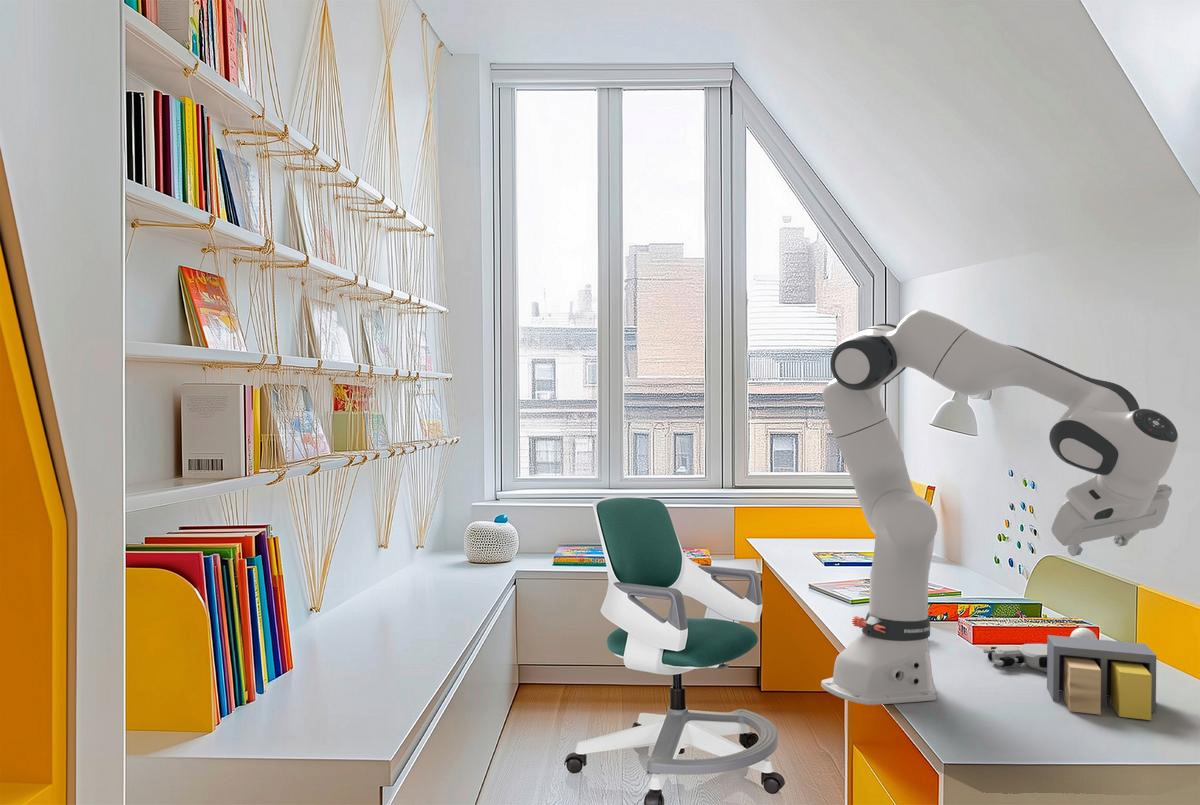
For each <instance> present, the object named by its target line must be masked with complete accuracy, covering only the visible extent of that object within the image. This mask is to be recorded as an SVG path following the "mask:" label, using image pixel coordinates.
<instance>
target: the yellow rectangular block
mask: <svg viewBox="0 0 1200 805" xmlns="http://www.w3.org/2000/svg"><path fill="white" fill-rule="evenodd" d="M1151 688H1152V675H1151V674H1150V673H1149V672H1148V670H1147V669H1146V668H1145V667H1144V666H1143V665H1142V664H1141V663H1131V662H1121V661H1111V696H1110V704H1111V706H1112V708H1113V709H1114V711H1115V712H1116V714H1117V716H1118V717H1121V718H1128V719H1129V718H1130V719H1138V720H1147V721H1152V712H1151Z"/></svg>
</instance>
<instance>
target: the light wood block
mask: <svg viewBox="0 0 1200 805" xmlns="http://www.w3.org/2000/svg"><path fill="white" fill-rule="evenodd" d="M1062 692H1063V693H1062V694H1063V695H1062V696H1063V697H1062V698H1063V700H1064V703H1065V705H1066V706H1067V708H1068V709H1067V710H1068V711H1069V712H1076V713H1084V714H1092V715H1093V714H1094V715H1101V711H1102V710H1101V708H1102V707H1101V669H1100V668H1099V667H1098V665H1097V664H1096V662H1095V661H1094V659H1089V658H1079V657H1068V656H1064V677H1063V691H1062Z"/></svg>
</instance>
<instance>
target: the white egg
mask: <svg viewBox="0 0 1200 805" xmlns="http://www.w3.org/2000/svg"><path fill="white" fill-rule="evenodd" d="M1069 637H1075V638H1087V639H1098V637H1097V635H1096V633H1095V632H1093V630H1091V629H1089V628H1086V627H1078V628H1075V629H1074V630H1073V631H1072V632H1071V634H1070V636H1069Z"/></svg>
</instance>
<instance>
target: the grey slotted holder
mask: <svg viewBox="0 0 1200 805" xmlns="http://www.w3.org/2000/svg"><path fill="white" fill-rule="evenodd" d="M1046 644H1047V672H1046V689H1047V691H1048V693H1050V694H1049V696H1050V698H1051V700H1052V702H1054V701H1055V702H1056V703H1059V702H1060V691H1059V690H1062V691H1061V692H1063V677H1064V656H1068V657H1079V658H1089V659H1094V661H1095V662H1096V664H1097V665H1098V667H1099V668H1100V669H1101V708H1107V700H1108V699H1107V697H1108V696H1109V697H1111V661H1121V662H1131V663H1141V664H1142V665H1143V666H1144V667H1145V668H1146V669H1147V670H1148V672H1149V673H1150V674H1151V675H1152V688H1151V713H1154V714H1155V713H1156V712H1157V711H1156V710H1157V654H1155V652H1154V651H1152V649H1151V648H1150V647H1149V646H1148V645H1147V644H1146V643H1142V642H1132V641H1129V642H1128V641H1120V640H1119V641H1118V640H1108V639H1107V640H1106V639H1098V638H1097V639H1087V638H1075V637H1070V636H1063V635H1052V634H1047V643H1046ZM1055 702H1054V703H1055Z"/></svg>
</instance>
